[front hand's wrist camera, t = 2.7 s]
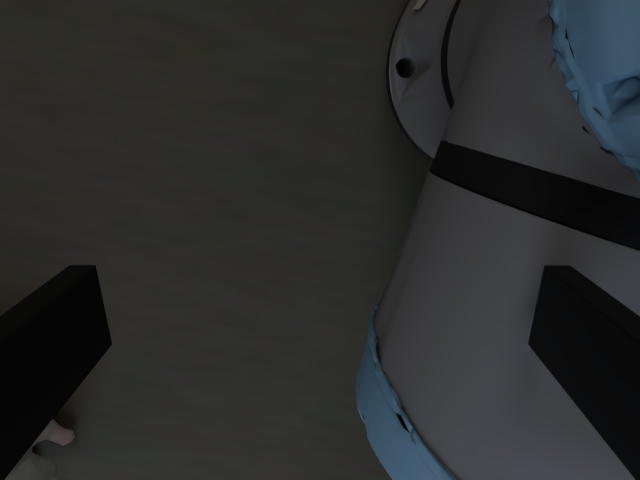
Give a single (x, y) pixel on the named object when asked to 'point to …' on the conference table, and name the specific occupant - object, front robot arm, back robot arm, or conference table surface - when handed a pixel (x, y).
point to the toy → (36, 471)
